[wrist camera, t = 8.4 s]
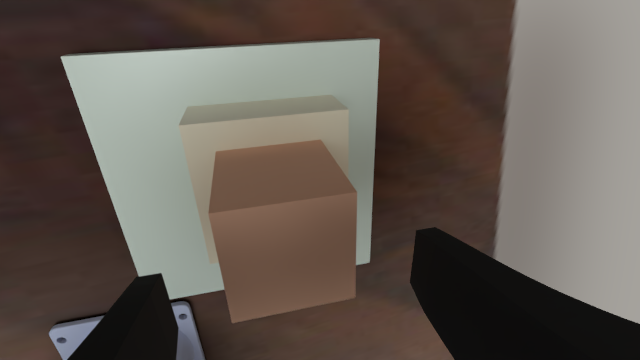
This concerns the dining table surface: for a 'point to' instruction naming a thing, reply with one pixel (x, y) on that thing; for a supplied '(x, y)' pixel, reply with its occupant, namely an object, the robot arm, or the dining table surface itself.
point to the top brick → (283, 228)
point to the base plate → (156, 145)
